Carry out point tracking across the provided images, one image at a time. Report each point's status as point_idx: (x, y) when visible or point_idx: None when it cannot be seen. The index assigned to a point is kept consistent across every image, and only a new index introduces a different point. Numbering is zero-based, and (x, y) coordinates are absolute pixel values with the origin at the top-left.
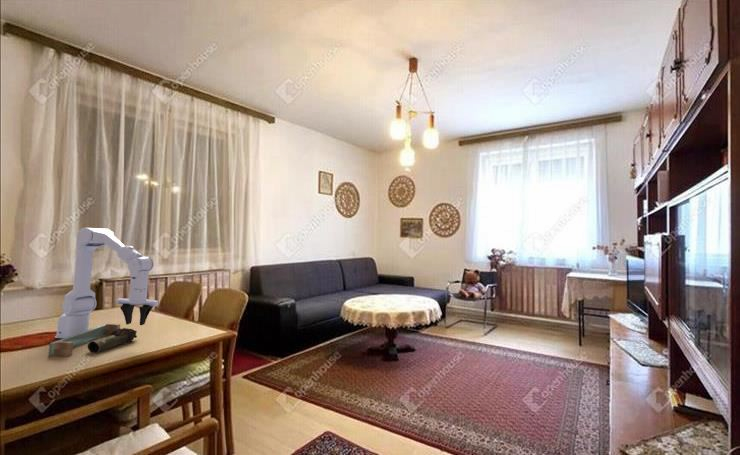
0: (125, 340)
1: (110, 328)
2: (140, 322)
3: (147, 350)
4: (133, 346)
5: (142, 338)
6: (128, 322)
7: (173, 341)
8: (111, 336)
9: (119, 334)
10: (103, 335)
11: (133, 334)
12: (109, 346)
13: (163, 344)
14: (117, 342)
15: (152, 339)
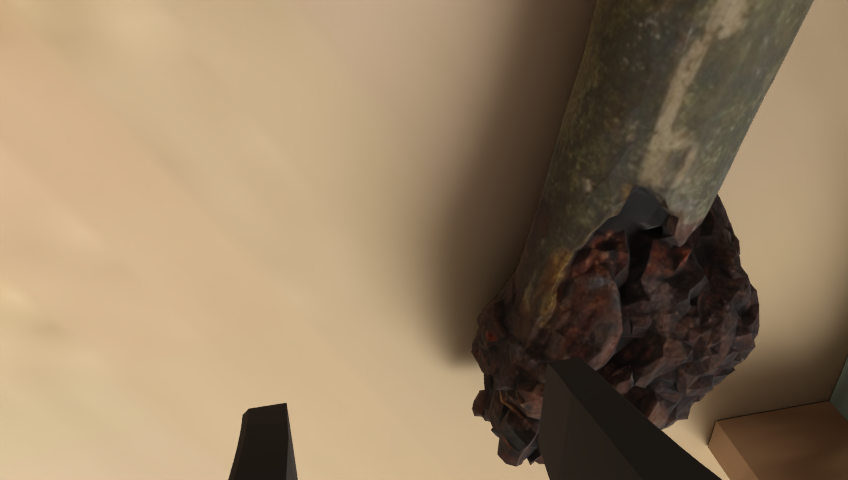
0: (519, 262)
1: (829, 465)
2: (269, 447)
3: (31, 87)
4: (356, 192)
5: (441, 440)
6: (560, 403)
7: (25, 474)
8: (683, 146)
9: (627, 279)
10: (834, 390)
11: (503, 399)
12: (597, 2)
13: (43, 359)
14: (559, 140)
15: (317, 449)
